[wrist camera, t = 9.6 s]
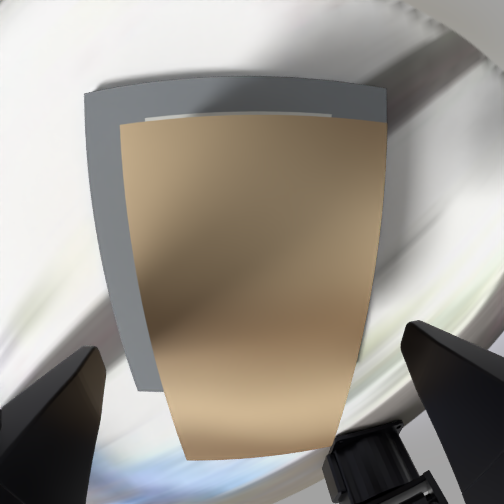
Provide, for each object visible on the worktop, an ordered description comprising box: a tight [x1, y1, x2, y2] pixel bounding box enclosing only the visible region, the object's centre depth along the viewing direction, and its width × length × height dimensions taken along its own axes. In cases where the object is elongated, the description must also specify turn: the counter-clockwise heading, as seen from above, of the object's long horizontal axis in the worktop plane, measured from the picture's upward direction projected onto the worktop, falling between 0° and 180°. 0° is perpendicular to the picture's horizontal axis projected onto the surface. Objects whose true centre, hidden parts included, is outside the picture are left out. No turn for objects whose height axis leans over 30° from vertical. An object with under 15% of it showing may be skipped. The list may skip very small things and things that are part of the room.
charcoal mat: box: [84, 76, 387, 392], centre depth 14 cm, size 13×16×1 cm
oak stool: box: [120, 115, 387, 460], centre depth 11 cm, size 12×6×6 cm, turn 1°
